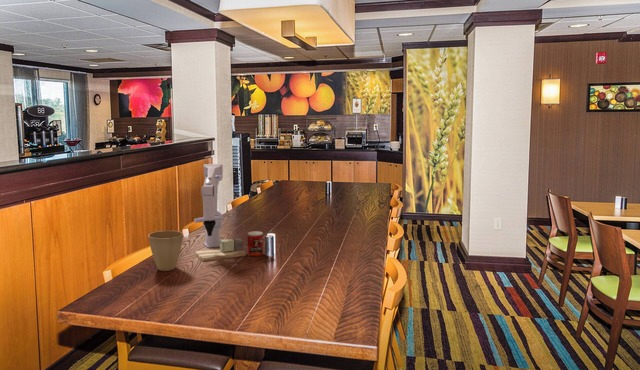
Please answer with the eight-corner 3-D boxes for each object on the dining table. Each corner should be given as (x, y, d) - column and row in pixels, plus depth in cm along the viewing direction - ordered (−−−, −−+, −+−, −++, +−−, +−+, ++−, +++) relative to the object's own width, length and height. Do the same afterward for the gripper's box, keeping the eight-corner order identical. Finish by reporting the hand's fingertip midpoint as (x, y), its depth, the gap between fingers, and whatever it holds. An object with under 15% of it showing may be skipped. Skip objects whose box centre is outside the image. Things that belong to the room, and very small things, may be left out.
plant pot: (148, 274, 216) (147, 239, 214) (150, 265, 230) (149, 231, 228) (184, 272, 220) (183, 237, 218) (184, 262, 234) (182, 229, 232)
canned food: (248, 257, 244) (248, 235, 243) (246, 252, 252) (246, 231, 250) (264, 255, 246) (264, 234, 245) (261, 251, 254) (261, 230, 253)
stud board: (194, 254, 249) (194, 241, 248) (236, 248, 259) (236, 236, 258) (202, 261, 237) (201, 248, 236) (245, 255, 247) (245, 242, 246)
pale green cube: (219, 249, 250) (219, 239, 249) (231, 248, 253) (231, 238, 252) (222, 251, 246) (222, 241, 245) (234, 250, 248) (234, 240, 248)
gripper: (196, 211, 239) (197, 238, 241) (225, 209, 246) (226, 235, 248) (192, 209, 246) (193, 235, 248) (221, 206, 252) (222, 232, 254)
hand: (209, 235), depth 248 cm, fingers closed
